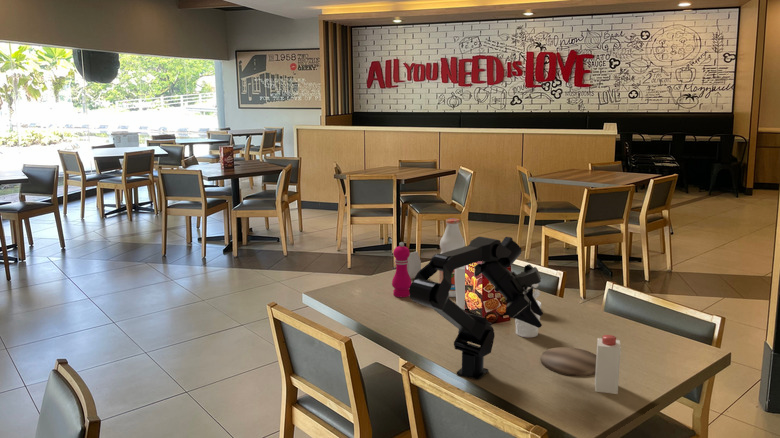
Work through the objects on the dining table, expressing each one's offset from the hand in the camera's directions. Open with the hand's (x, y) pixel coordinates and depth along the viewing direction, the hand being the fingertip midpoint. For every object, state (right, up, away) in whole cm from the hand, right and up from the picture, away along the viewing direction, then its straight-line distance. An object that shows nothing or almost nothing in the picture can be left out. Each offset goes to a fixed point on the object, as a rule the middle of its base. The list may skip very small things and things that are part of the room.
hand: (541, 320), depth 165 cm
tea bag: (-31, +3, +88) cm, 94 cm away
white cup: (+2, -9, +27) cm, 28 cm away
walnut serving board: (+9, -13, +6) cm, 17 cm away
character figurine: (+6, -4, +49) cm, 50 cm away
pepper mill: (-36, -1, +65) cm, 74 cm away
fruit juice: (-17, -1, +66) cm, 68 cm away
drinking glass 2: (-14, -4, +50) cm, 53 cm away
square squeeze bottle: (+14, -15, -9) cm, 23 cm away
